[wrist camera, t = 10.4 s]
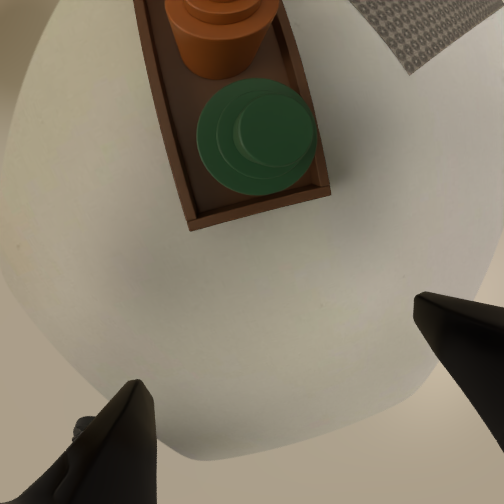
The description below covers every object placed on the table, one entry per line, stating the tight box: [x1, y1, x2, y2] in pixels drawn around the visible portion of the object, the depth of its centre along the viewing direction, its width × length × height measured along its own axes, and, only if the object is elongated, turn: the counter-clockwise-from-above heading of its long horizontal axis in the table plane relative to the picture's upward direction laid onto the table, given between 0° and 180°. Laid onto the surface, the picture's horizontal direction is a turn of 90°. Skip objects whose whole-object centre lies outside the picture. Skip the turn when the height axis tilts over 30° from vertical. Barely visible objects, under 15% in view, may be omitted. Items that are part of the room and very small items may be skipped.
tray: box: [133, 0, 331, 231], centre depth 13 cm, size 20×8×2 cm, turn 13°
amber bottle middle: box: [165, 0, 279, 80], centre depth 9 cm, size 4×4×10 cm
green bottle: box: [196, 78, 317, 195], centre depth 11 cm, size 4×4×10 cm
